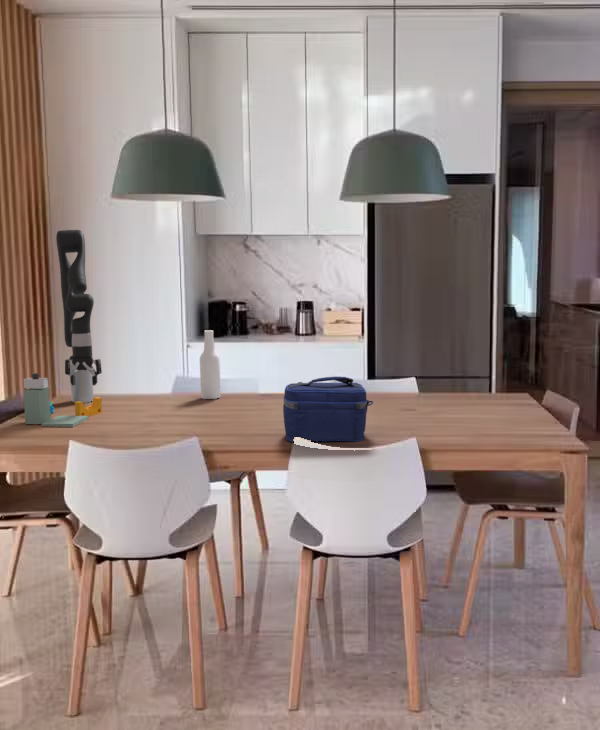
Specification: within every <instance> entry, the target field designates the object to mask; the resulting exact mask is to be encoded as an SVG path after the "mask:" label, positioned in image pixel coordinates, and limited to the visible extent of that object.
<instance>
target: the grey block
mask: <svg viewBox="0 0 600 730" xmlns="http://www.w3.org/2000/svg"><path fill="white" fill-rule="evenodd" d="M39 375H40V373H39V372H33V373H31V377H26V378H24V379H23V389H30V388H46V387H49V378H48V377H40V376H39Z"/></svg>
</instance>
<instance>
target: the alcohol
mask: <svg viewBox="0 0 600 730" xmlns="http://www.w3.org/2000/svg"><path fill="white" fill-rule="evenodd" d="M203 347H204V348H203V352H202V353H201V354H200V356H199V377H200V378H199V379H200V380H199V381H200V397H201V399H202V400H205V399H214V400H218V399H217V398H219V399H221V397H222V393H221V392H222V390H221V389H222V387H221V358H220V356H219V354H218V352H217V351H216V348H215V339H214V330H211V329H209V330H208V329H207V330H206V329H205V330H204V343H203Z"/></svg>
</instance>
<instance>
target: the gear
mask: <svg viewBox="0 0 600 730" xmlns="http://www.w3.org/2000/svg"><path fill="white" fill-rule="evenodd" d="M53 405H54V402H53V401H50V414H51V415H52V414H53V413H54V412H55V410H54V409H55V407H54V406H53Z"/></svg>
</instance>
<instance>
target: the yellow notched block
mask: <svg viewBox="0 0 600 730" xmlns="http://www.w3.org/2000/svg"><path fill="white" fill-rule="evenodd" d="M74 412H75V413H74V414H75V415H74V416H89V417H92V416H91V415H93V416H95V414H97V415H100V414H99V413H101V414H103V402H102V397H98V396H95V397H93V401H92V402H91V405H87V406H86V407H85V403H83V402H80V401H78V402H75V403H74Z"/></svg>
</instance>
